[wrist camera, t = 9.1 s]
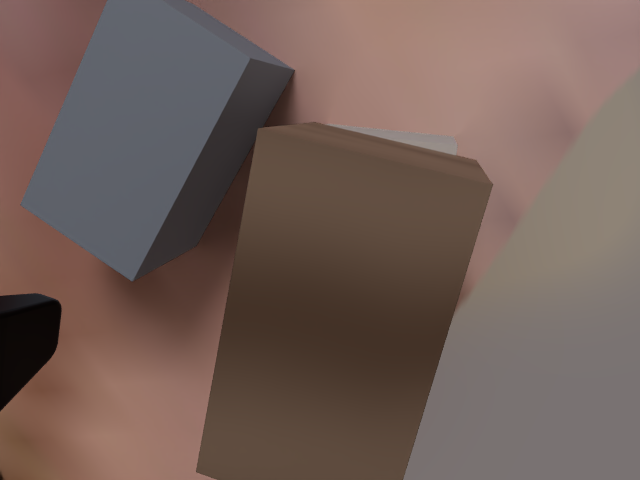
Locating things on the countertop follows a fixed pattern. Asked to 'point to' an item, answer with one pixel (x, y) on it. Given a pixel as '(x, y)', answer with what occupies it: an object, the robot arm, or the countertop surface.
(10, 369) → the robot arm
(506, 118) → the countertop surface
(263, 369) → the walnut brick
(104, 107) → the slate brick
